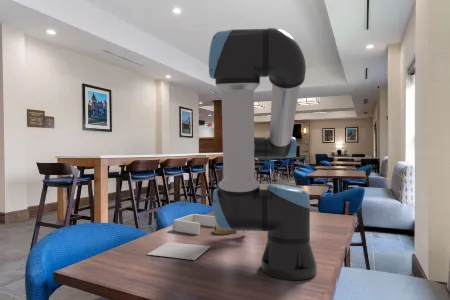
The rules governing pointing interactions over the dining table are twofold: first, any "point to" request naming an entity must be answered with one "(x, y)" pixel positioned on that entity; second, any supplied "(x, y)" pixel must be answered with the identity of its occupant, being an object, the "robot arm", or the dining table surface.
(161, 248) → the paper stack
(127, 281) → the dining table surface
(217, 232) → the pastry
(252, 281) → the dining table surface
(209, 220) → the box
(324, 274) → the dining table surface
